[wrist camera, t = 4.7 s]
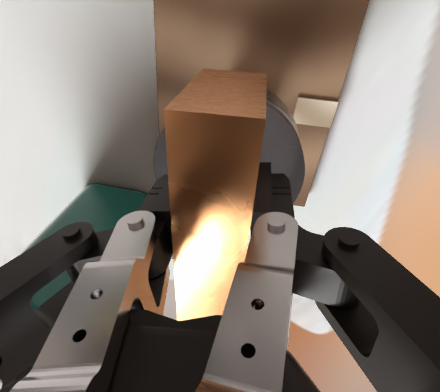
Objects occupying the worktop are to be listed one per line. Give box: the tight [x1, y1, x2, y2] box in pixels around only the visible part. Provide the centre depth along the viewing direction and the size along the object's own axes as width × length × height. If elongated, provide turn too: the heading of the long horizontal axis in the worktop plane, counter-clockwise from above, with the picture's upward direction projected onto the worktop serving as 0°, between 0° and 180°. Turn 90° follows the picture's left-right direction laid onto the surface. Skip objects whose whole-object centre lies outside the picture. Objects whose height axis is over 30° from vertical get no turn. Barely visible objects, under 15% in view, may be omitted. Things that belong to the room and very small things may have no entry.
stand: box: [154, 0, 370, 207], centre depth 20 cm, size 18×14×10 cm
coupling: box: [154, 68, 305, 321], centre depth 13 cm, size 10×7×8 cm
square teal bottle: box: [18, 184, 147, 365], centre depth 24 cm, size 10×8×22 cm
